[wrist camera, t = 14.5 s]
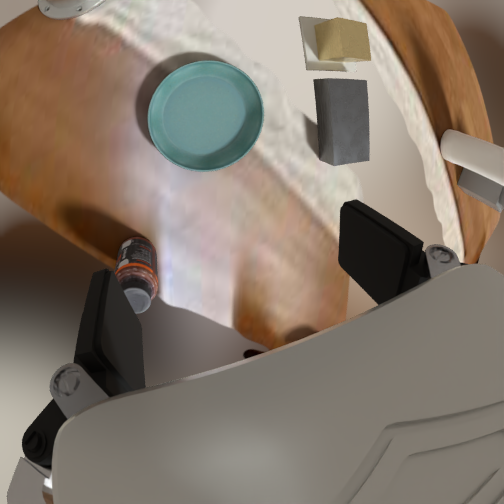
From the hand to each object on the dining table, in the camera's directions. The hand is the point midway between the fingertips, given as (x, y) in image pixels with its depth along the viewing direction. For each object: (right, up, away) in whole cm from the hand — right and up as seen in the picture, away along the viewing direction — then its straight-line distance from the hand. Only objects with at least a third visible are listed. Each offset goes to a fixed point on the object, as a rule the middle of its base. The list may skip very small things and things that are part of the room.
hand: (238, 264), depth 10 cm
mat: (+12, +32, +20) cm, 39 cm away
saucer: (-6, +18, +22) cm, 29 cm away
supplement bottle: (-17, 0, +28) cm, 33 cm away
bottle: (+46, +26, +37) cm, 65 cm away
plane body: (+14, +21, +27) cm, 37 cm away
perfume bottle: (+59, +21, +45) cm, 77 cm away
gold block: (+12, +31, +20) cm, 39 cm away
